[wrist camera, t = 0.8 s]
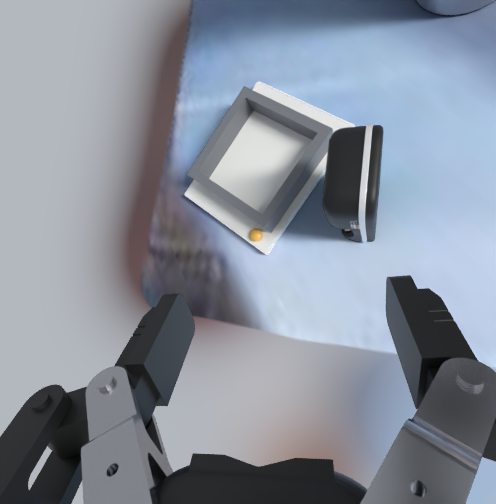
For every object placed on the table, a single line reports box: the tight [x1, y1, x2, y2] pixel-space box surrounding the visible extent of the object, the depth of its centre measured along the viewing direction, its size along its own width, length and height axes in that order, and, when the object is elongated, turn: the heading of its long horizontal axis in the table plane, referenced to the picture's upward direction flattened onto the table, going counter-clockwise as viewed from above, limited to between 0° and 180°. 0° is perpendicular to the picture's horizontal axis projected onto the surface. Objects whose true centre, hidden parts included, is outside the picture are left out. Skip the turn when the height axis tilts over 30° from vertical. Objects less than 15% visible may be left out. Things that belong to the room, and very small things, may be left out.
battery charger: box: [323, 124, 383, 242], centre depth 26 cm, size 7×4×11 cm, turn 172°
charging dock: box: [184, 81, 355, 255], centre depth 34 cm, size 16×13×4 cm
